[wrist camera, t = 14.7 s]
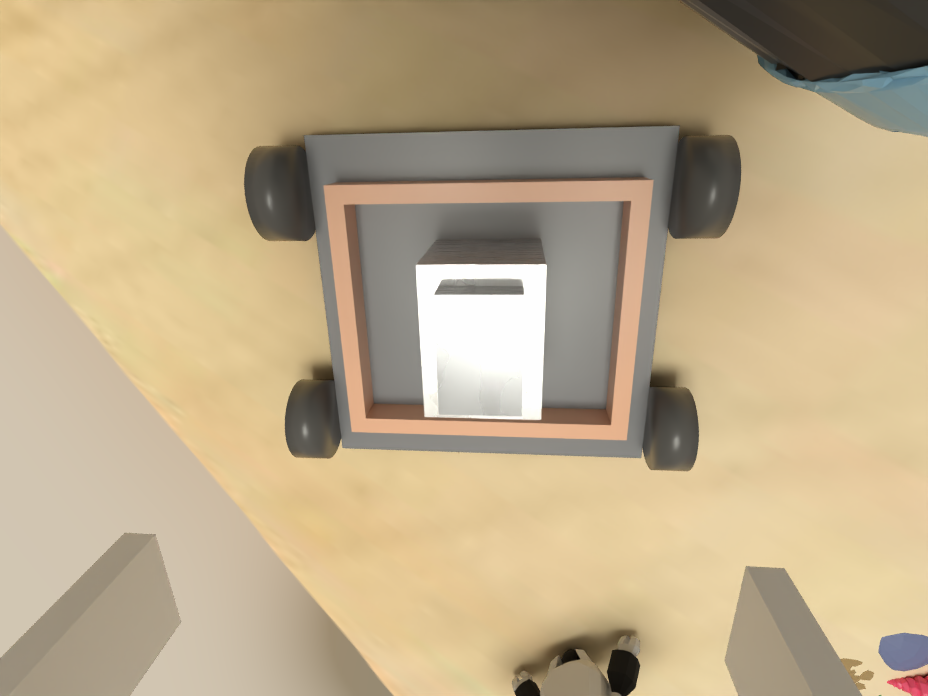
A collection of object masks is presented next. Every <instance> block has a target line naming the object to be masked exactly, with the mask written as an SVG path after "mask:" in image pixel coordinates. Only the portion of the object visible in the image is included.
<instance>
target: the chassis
mask: <svg viewBox="0 0 928 696" xmlns="http://www.w3.org/2000/svg"><path fill="white" fill-rule="evenodd" d="M679 129H680V126H649V127H610V128H572V129H533V130H494V131H455V132H416V133H378V134H339V135H304V140H305V148H306V152H305V150H304V149H303V148H301V147H300V146H259V147H256V148H254V149H253V150H252V152H251V153H250V155H249V157H248V160H247V163H246V168H245V177H244V187H245V197H246V203H247V208H248V211H249V215H250V218H251V220H252V222H253V225H254V227H255V228H256V230H257V231H258V233H259V234H260V235H261V236H262V237H263V238H264V239H266V240H268V241H307V240H309V239H310V238H311V237H312V236H313V234H314V232H315V230H316V237H317V245H318V253H319V261H320V269H321V278H322V286H323V294H324V302H325V310H326V318H327V326H328V334H329V342H330V350H331V358H332V366H333V374H334V380H300V381H298V382H297V383H296V384H295V386H294V387H293V389H292V391H291V393H290V396H289V399H288V403H287V407H286V415H285V435H286V441H287V445H288V448H289V450H290V452H291V454H292V455H293V456H295V457H300V458H331V457H333V455H334V454H335V453H336V451H337V449H338V446H339V444H340V440H341V439H342V447H343V448H354V449H384V450H414V451H444V452H474V453H504V454H534V455H564V456H594V457H624V458H641V455H642V447H643V453H644V457H645V460H646V463H647V465H648V467H649V468H650V469H651V470H667V471H689V470H691V468H692V467H693V465H694V463H695V460H696V456H697V451H698V441H699V426H698V416H697V410H696V405H695V402H694V399H693V396H692V394H691V392H690V391H689V390H688V389H687V388H685V387H649V386H650V378H651V369H652V361H653V352H654V343H655V335H656V326H657V318H658V309H659V301H660V292H661V283H662V275H663V266H664V258H665V249H666V240H667V232H668V229H669V232H670V234H671V236H672V237H673V238H675V239H684V238H719V237H721V236H722V235H723V234H724V233H725V232H726V230H727V229H728V227H729V225H730V223H731V221H732V218H733V215H734V212H735V209H736V205H737V201H738V196H739V190H740V181H741V160H740V153H739V148H738V145H737V143H736V141H735V139H734V138H733V137H732V136H730V135H715V136H685V137H683V138H682V139H681V140H680V141H679V143H678V137H679ZM469 239H541V242H542V246H543V251H544V256H545V260H546V291H545V321H544V350H543V380H542V409H541V420H521V419H484V418H446V417H425V416H424V399H423V381H422V364H421V346H420V329H419V312H418V294H417V277H416V264H417V263H418V262H419V260H420V259H421V258H422V257H423V255H424V254H425V253H426V252H427V250H428V249H429V248H430V247H431V245H432V244H433V243H434V242H435V240H469Z"/></svg>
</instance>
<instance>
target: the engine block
mask: <svg viewBox="0 0 928 696" xmlns="http://www.w3.org/2000/svg"><path fill="white" fill-rule="evenodd" d="M416 277H417V294H418V312H419V329H420V346H421V364H422V381H423V399H424V416H425V417H446V418H484V419H521V420H541V409H542V380H543V350H544V321H545V291H546V260H545V256H544V251H543V246H542V242H541V239H469V240H435V242H434V243H433V244H432V245H431V247H430V248H429V249H428V250H427V252H426V253H425V254H424V255H423V257H422V258H421V259H420V260H419V262H418V263H417V264H416Z"/></svg>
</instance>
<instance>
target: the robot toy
mask: <svg viewBox="0 0 928 696" xmlns="http://www.w3.org/2000/svg"><path fill="white" fill-rule="evenodd" d="M617 646H618V649H617V650H612V654H611V658H610V662H609V666H608V670H607V674H608V679H609V682H608V681H607V679H606V678H605V677H604V675H603V674H602V672H601V671H600V670H599V668H598V667H597V666H596V664H594V663H593V662H592V660H591V659H590V658H589V656H588V655H587V654H586V652H585V651H584V650H579V649H575V650H576V651H575V650H569V651H567V652H565V653H564V655H563V658H561V657H560V656H559V655H558V656H556V657H555V658H554V659H553V660H552V661H551V662H550V666H549V669H548V673H547V676H546V678H545V679H544V681H543V683H542V687H541V691H540V690H539V688H538V686H537V684H536V683H535V682H533V680H532V676H531V675H530V674H529V673H528V672H527V671H522V672H521V673H519V674H520V675H521V676H522V679H521V680H519V679H518V678H517V676H516V677H515V678H514V679H513V680H512V684H513V689H514V692H515V695H516V696H627V695H628V694H629V693H630V692H632V691H633V690H634V689H635V687H636V683H637V678H638V673H639V668H640V664H639V661H638V659H637V658H636V656H637V655H638V654H639V652H640V641H639V640H638V638H636V637H635V636H631V639H630V638H629V636H627V635H624V636H622V637H621V638H620V640H619V641H618V643H617Z"/></svg>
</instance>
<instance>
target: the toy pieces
mask: <svg viewBox="0 0 928 696" xmlns="http://www.w3.org/2000/svg"><path fill="white" fill-rule="evenodd" d="M879 654H880V655H881V657H882V659H883V660H884V662H885V663H886V664H887V665H888V666H889V667H890V668H891V669H893V670H898V671H908V670H913V669H918V668H920V667H922V666H925V665H927V664H928V637H927V636H924V635H917V634H909V633H900V634H895V635H890V636H886V637H882V638H881V641H880V646H879ZM840 660H841V662H842V663H843V665H844V667H845V668H846V670H847V672H848V673H849V675H850V676H851V678H852V680H853V681H854V683H856V682H858V681H859V680H860V679H862V680H871V679H872V677H873V674H874V673H873V672H871V671H868V670H867V671H865V672H863V673H862V674H861V675H860V677H859V676H855V675H854V674H855V673H856V672H855V670H852V671H850V668H851V667H852V666H858V665H860V664H862V662H860V661H858V660H852V659H844V658H843V659H840ZM887 683H889V684H891V685H893V686H894V687H898V689H902V690H903V691H905V692H908V693H910V694H911V695H912V696H928V675H927V676H926V677H925V678H923V677H921V676H915V677H914V678H911V677H906V678H900V679H892V680H890V681H887ZM855 685H856V686H857V688H858V690H861V689H866V688H865V686H864V685H865V684H861V683H859V682H858V683H856V684H855ZM879 696H881V695H879Z"/></svg>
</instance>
